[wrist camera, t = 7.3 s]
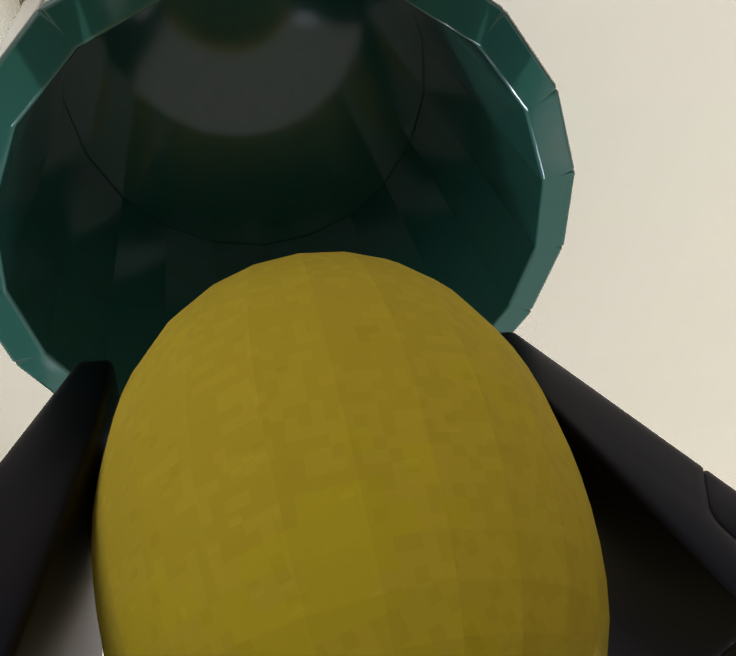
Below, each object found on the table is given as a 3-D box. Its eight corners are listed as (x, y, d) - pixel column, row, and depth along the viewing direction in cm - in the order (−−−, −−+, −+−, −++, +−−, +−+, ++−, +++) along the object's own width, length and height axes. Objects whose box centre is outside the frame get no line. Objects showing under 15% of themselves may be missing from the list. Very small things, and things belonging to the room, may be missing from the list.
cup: (194, 297, 21) (203, 508, 15) (-73, -8, 14) (-243, 170, 8) (481, 154, 20) (607, 325, 14) (346, -259, 13) (488, -256, 7)
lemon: (365, 428, 13) (511, 951, 8) (80, 382, 11) (-25, 1113, 5) (518, 212, 10) (942, 788, 5) (179, 79, 8) (193, 977, 2)
